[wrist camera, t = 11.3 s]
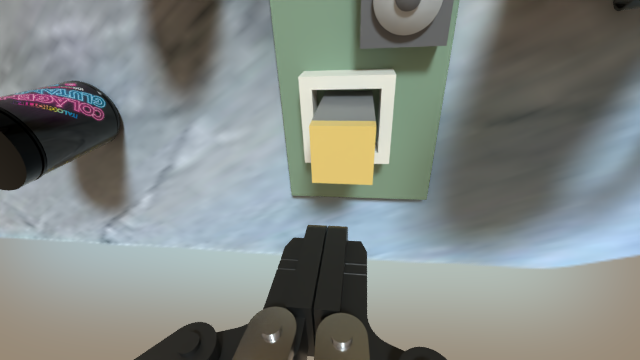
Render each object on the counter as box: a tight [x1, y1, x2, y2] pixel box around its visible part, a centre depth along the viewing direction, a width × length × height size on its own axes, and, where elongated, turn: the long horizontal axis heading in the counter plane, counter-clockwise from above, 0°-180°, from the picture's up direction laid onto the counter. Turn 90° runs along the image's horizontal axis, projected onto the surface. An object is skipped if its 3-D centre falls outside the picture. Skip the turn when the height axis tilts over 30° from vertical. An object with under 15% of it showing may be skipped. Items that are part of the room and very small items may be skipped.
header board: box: [270, 0, 459, 200], centre depth 24 cm, size 14×22×5 cm, turn 3°
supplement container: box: [0, 81, 120, 190], centre depth 26 cm, size 7×7×10 cm
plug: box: [309, 91, 376, 185], centre depth 22 cm, size 4×4×9 cm
